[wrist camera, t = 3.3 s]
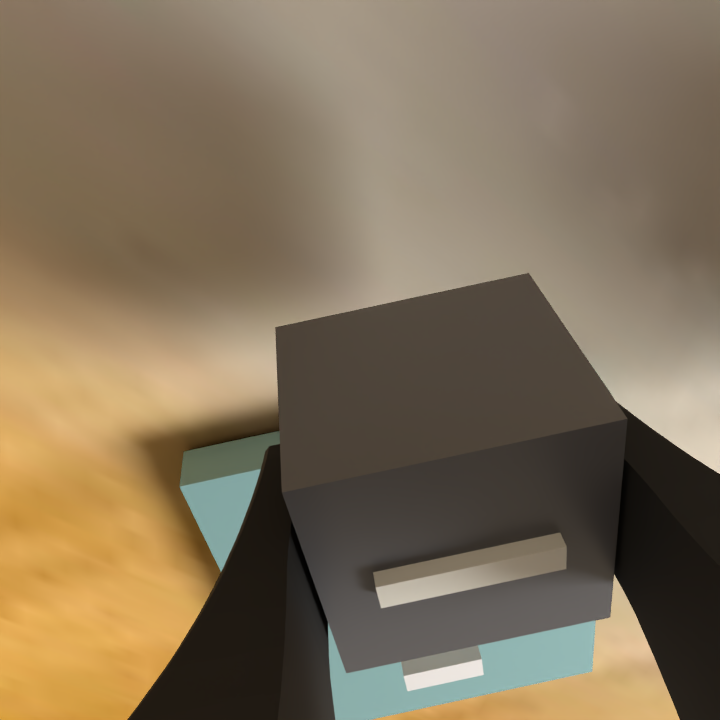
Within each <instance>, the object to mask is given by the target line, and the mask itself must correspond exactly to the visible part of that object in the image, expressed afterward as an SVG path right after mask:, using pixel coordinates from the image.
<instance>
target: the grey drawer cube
mask: <svg viewBox="0 0 720 720" xmlns="http://www.w3.org/2000/svg"><path fill="white" fill-rule="evenodd" d="M275 328H276V354H277V380H278V406H279V432H280V458H281V484H282V494H283V497H284V500H285V503H286V506H287V509H288V511H289V514H290V517H291V520H292V523H293V525H294V528H295V531H296V534H297V537H298V539H299V542H300V545H301V548H302V551H303V553H304V556H305V559H306V562H307V565H308V567H309V570H310V573H311V576H312V579H313V582H314V584H315V587H316V590H317V593H318V596H319V598H320V601H321V604H322V607H323V610H324V612H325V615H326V618H327V621H328V624H329V626H330V629H331V632H332V635H333V638H334V640H335V643H336V646H337V649H338V652H339V655H340V657H341V660H342V663H343V666H344V669H345V671H346V673H351V672H356V671H361V670H365V669H370V668H375V667H379V666H384V665H389V664H393V663H398V662H403V661H407V660H412V659H417V658H422V657H426V656H431V655H436V654H440V653H445V652H450V651H454V650H459V649H464V648H469V647H473V646H478V645H483V644H487V643H492V642H497V641H501V640H506V639H511V638H516V637H520V636H525V635H530V634H534V633H539V632H544V631H548V630H553V629H558V628H563V627H567V626H572V625H577V624H581V623H586V622H591V621H595V620H600V619H605V618H609V617H610V613H611V602H612V590H613V579H614V567H615V556H616V545H617V533H618V522H619V510H620V499H621V487H622V476H623V465H624V453H625V442H626V430H627V417H626V416H625V414H624V413H623V411H622V410H621V408H620V407H619V405H618V404H617V403H616V401H615V400H614V398H613V397H612V395H611V394H610V392H609V391H608V389H607V388H606V386H605V385H604V383H603V382H602V380H601V379H600V378H599V376H598V375H597V373H596V372H595V370H594V369H593V367H592V366H591V364H590V363H589V361H588V360H587V358H586V357H585V355H584V354H583V352H582V351H581V350H580V348H579V347H578V345H577V344H576V342H575V341H574V339H573V338H572V336H571V335H570V333H569V332H568V330H567V329H566V327H565V326H564V325H563V323H562V322H561V320H560V319H559V317H558V316H557V314H556V313H555V311H554V310H553V308H552V307H551V305H550V304H549V302H548V301H547V299H546V298H545V297H544V295H543V294H542V292H541V291H540V289H539V288H538V286H537V285H536V283H535V282H534V280H533V279H532V277H531V276H530V274H529V273H527V274H522V275H518V276H513V277H508V278H504V279H499V280H494V281H490V282H485V283H480V284H476V285H471V286H466V287H462V288H457V289H452V290H448V291H443V292H438V293H434V294H429V295H424V296H420V297H415V298H410V299H406V300H401V301H396V302H392V303H387V304H382V305H378V306H373V307H368V308H364V309H359V310H354V311H350V312H345V313H340V314H336V315H331V316H326V317H322V318H317V319H312V320H308V321H303V322H298V323H294V324H289V325H284V326H280V327H275Z"/></svg>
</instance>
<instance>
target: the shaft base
mask: <svg viewBox="0 0 720 720" xmlns="http://www.w3.org/2000/svg"><path fill="white" fill-rule="evenodd" d="M591 366H592V365H591ZM593 369H594V368H593ZM595 372H596V371H595ZM597 375H598V374H597ZM599 378H600V377H599ZM602 382H603V381H602ZM604 385H605V384H604ZM606 388H607V387H606ZM608 391H609V390H608ZM277 444H280V432H279V431H276V432H272V433H267V434H262V435H258V436H253V437H249V438H244V439H239V440H235V441H230V442H226V443H221V444H216V445H212V446H207V447H203V448H198V449H193V450H189V451H184V453H183V461H182V470H181V478H180V486H179V487H180V489H181V491H182V493H183V495H184V497H185V499H186V501H187V503H188V505H189V507H190V509H191V511H192V514H193V516H194V518H195V520H196V522H197V524H198V526H199V528H200V530H201V532H202V534H203V536H204V538H205V540H206V542H207V544H208V546H209V548H210V550H211V553H212V555H213V557H214V559H215V561H216V563H217V565H218V567H219V569H220V571H222V569H223V567H224V565H225V563H226V560H227V558H228V556H229V554H230V551H231V549H232V547H233V545H234V542H235V540H236V538H237V536H238V533H239V531H240V528H241V525H242V523H243V520H244V517H245V515H246V512H247V509H248V507H249V504H250V501H251V499H252V496H253V493H254V490H255V487H256V483H257V480H258V477H259V473H260V470H261V466H262V463H263V459H264V454H265V451H266V450H267V448H268V447H269V446H272V445H277ZM594 635H595V621H591V622H586V623H581V624H577V625H572V626H567V627H563V628H558V629H553V630H548V631H544V632H539V633H534V634H530V635H525V636H520V637H516V638H511V639H506V640H501V641H497V642H492V643H487V644H483V645H478V646H473V647H469V648H464V649H459V650H454V651H450V652H445V653H440V654H436V655H431V656H426V657H422V658H417V659H412V660H407V661H403V662H398V663H393V664H389V665H384V666H379V667H375V668H370V669H365V670H361V671H356V672H351V673H346V671H345V669H344V666H343V663H342V660H341V657H340V655H339V652H338V649H337V646H336V643H335V640H334V638H333V635H332V632H331V629H330V626H329V624H328V638H329V664H330V679H331V688H332V696H333V704H334V713H335V720H371V719H376V718H380V717H385V716H389V715H394V714H399V713H403V712H408V711H413V710H417V709H422V708H426V707H431V706H436V705H440V704H445V703H449V702H454V701H459V700H463V699H468V698H472V697H477V696H482V695H486V694H491V693H495V692H500V691H505V690H509V689H514V688H518V687H523V686H528V685H532V684H537V683H541V682H546V681H551V680H555V679H560V678H564V677H569V676H574V675H578V674H583V673H587V672H592V666H593V651H594Z"/></svg>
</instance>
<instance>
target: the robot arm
mask: <svg viewBox="0 0 720 720" xmlns="http://www.w3.org/2000/svg"><path fill="white" fill-rule="evenodd" d="M616 403H617V402H616ZM617 404H618V405H619V407H620V408H621V410H622V411H623V413H624V414H625V416H626V417H627V430H626V442H625V453H624V465H623V476H622V487H621V499H620V510H619V522H618V533H617V545H616V556H615V567H614V574H615V576H616V578H617V580H618V582H619V583H620V585H621V587H622V589H623V590H624V592H625V594H626V596H627V598H628V600H629V602H630V604H631V606H632V608H633V610H634V612H635V614H636V616H637V618H638V621H639V623H640V625H641V628H642V630H643V632H644V634H645V637H646V639H647V641H648V644H649V646H650V648H651V651H652V653H653V655H654V658H655V660H656V662H657V665H658V667H659V669H660V672H661V674H662V677H663V679H664V682H665V684H666V686H667V689H668V691H669V694H670V696H671V698H672V701H673V703H674V706H675V708H676V711H677V713H678V716H679V718H680V720H720V474H719V473H717V472H715V471H714V470H712V469H711V468H709V467H707V466H706V465H704V464H703V463H701V462H700V461H698V460H696V459H695V458H693V457H692V456H690V455H689V454H687V453H686V452H684V451H683V450H681V449H680V448H678V447H677V446H675V445H674V444H673V443H671V442H670V441H668V440H667V439H666V438H664V437H663V436H661V435H660V434H659V433H657V432H656V431H654V430H653V429H652V428H650V427H649V426H647V425H646V424H645V423H643V422H642V421H641V420H639V419H638V418H637V417H635V416H634V415H633V414H632V413H630V412H629V411H628V410H626V409H625V408H624V407H622V406H621V405H620V404H619V403H617ZM128 720H335V713H334V704H333V696H332V688H331V679H330V664H329V638H328V621H327V618H326V615H325V612H324V610H323V607H322V604H321V601H320V598H319V596H318V593H317V590H316V587H315V584H314V582H313V579H312V576H311V573H310V570H309V567H308V565H307V562H306V559H305V556H304V553H303V551H302V548H301V545H300V542H299V539H298V537H297V534H296V531H295V528H294V525H293V523H292V520H291V517H290V514H289V511H288V509H287V506H286V503H285V500H284V497H283V494H282V484H281V458H280V444H277V445H272V446H269V447H268V448H267V450H266V451H265V454H264V459H263V463H262V466H261V470H260V473H259V477H258V480H257V483H256V487H255V490H254V493H253V496H252V499H251V501H250V504H249V507H248V509H247V512H246V515H245V517H244V520H243V523H242V525H241V528H240V531H239V533H238V536H237V538H236V540H235V542H234V545H233V547H232V549H231V551H230V554H229V556H228V558H227V560H226V563H225V565H224V567H223V569H222V571H221V573H220V576H219V578H218V580H217V582H216V584H215V586H214V588H213V589H212V591H211V593H210V595H209V597H208V599H207V601H206V603H205V604H204V606H203V608H202V610H201V612H200V613H199V615H198V617H197V619H196V620H195V622H194V624H193V625H192V627H191V629H190V630H189V632H188V633H187V635H186V637H185V638H184V640H183V642H182V643H181V645H180V647H179V648H178V650H177V651H176V653H175V654H174V656H173V657H172V659H171V660H170V662H169V663H168V665H167V666H166V668H165V669H164V671H163V672H162V673H161V675H160V676H159V677H158V679H157V680H156V682H155V683H154V684H153V686H152V687H151V689H150V690H149V691H148V693H147V694H146V695H145V697H144V698H143V700H142V701H141V702H140V704H139V705H138V706H137V708H136V709H135V711H134V712H133V713H132V714H131V716H130V717H129V718H128Z"/></svg>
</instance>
